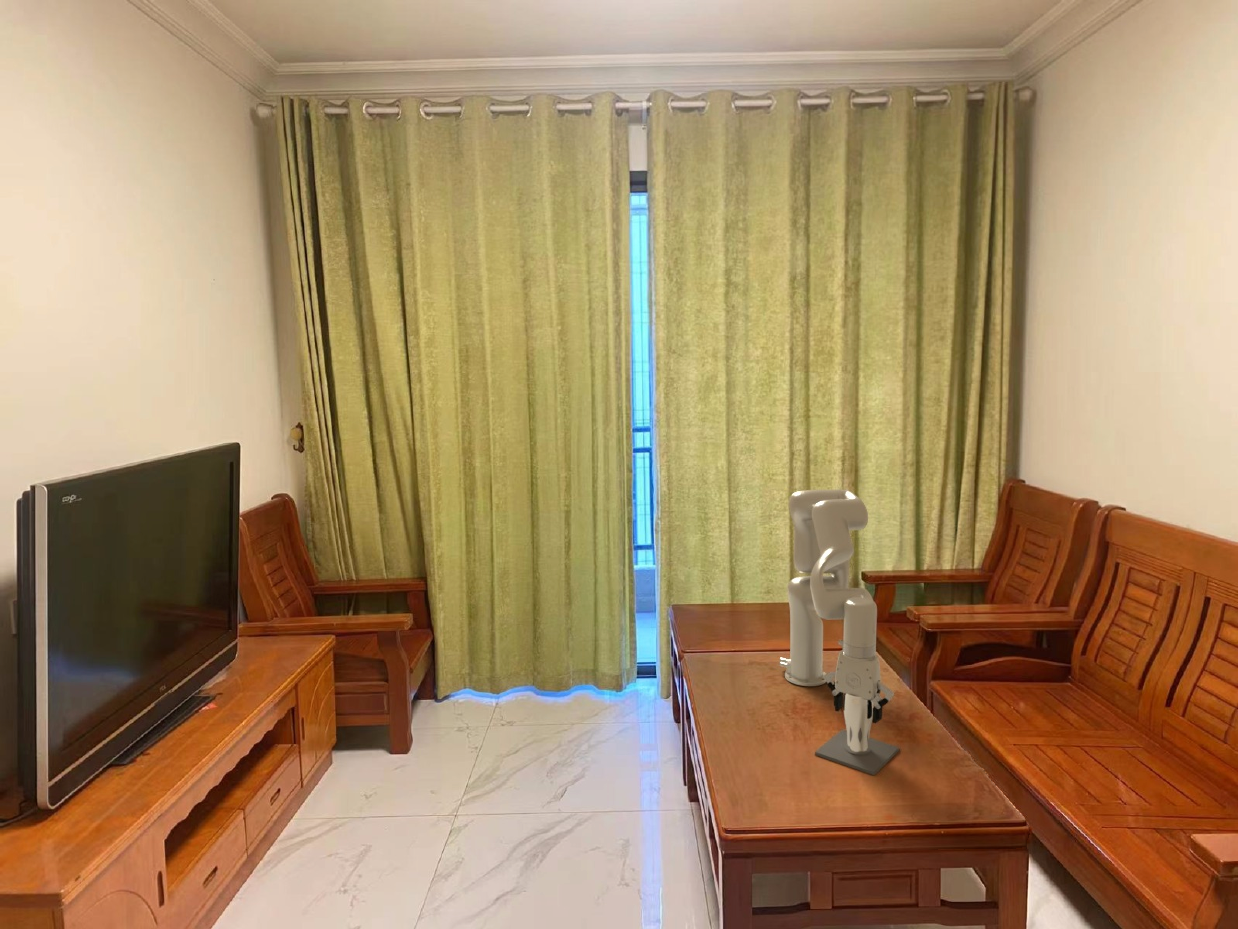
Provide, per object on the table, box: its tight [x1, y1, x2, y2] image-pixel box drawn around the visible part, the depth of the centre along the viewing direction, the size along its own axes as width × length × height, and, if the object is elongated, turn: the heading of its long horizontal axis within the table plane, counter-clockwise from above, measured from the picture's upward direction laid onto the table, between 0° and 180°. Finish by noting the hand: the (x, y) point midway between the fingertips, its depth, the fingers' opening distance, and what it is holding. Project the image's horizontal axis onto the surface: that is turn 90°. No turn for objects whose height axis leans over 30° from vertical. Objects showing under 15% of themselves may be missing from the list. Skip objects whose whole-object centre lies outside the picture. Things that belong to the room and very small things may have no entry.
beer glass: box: [843, 693, 874, 755], centre depth 190 cm, size 7×7×15 cm
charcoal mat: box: [814, 729, 900, 776], centre depth 191 cm, size 15×15×1 cm
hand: (857, 715), depth 190 cm, fingers open, 9 cm apart
